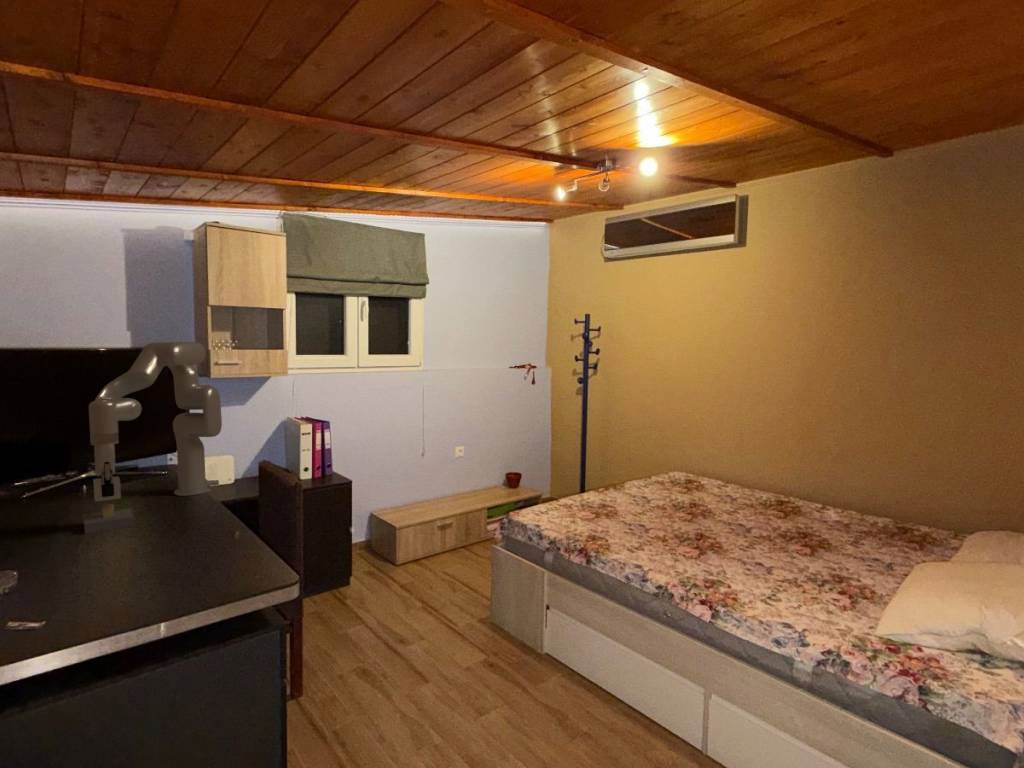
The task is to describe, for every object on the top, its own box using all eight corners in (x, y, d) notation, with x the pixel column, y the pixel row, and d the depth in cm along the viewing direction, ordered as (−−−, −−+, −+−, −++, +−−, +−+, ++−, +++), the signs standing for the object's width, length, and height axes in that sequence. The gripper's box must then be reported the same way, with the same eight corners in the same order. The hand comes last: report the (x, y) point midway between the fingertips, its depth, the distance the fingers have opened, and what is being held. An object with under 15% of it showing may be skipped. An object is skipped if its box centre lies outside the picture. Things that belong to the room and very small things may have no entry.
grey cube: (119, 494, 200) (118, 476, 200) (120, 498, 195) (120, 479, 194) (94, 497, 196) (93, 479, 196) (95, 501, 191) (94, 482, 190)
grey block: (130, 517, 205) (129, 496, 205) (134, 526, 195) (133, 504, 194) (83, 524, 197) (82, 502, 197) (85, 533, 187) (83, 511, 186)
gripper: (89, 437, 199) (92, 490, 200) (91, 443, 185) (94, 501, 186) (116, 435, 203) (119, 487, 205) (120, 441, 190) (123, 497, 191)
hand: (107, 493), depth 195 cm, fingers closed on grey cube, 6 cm apart
